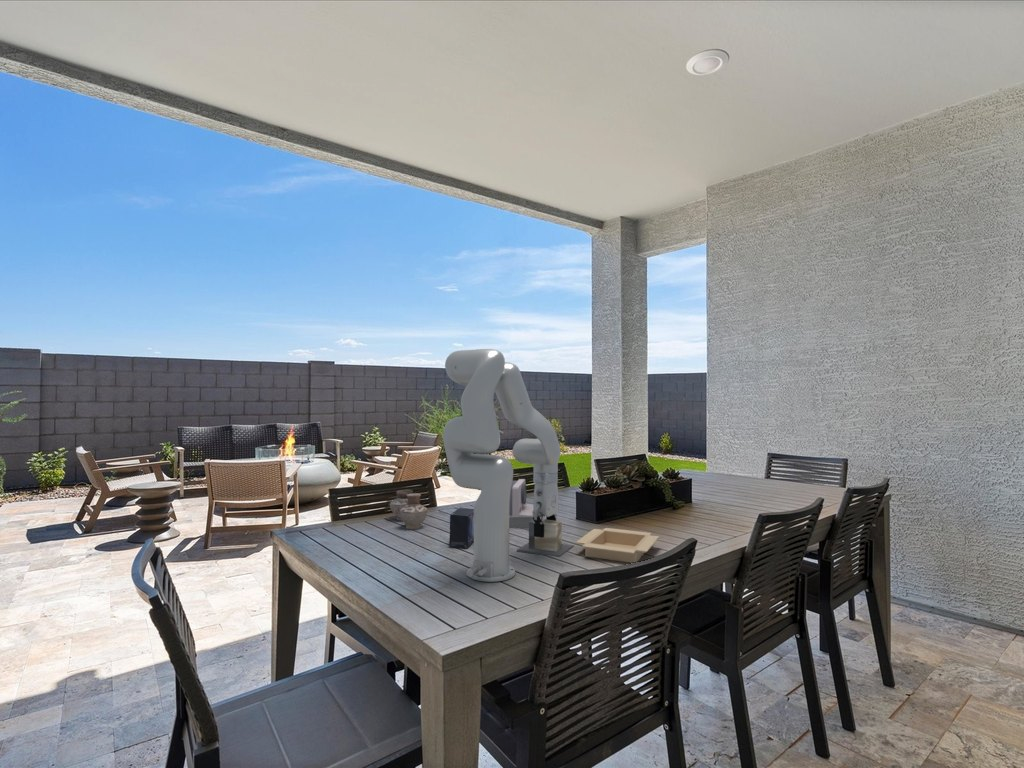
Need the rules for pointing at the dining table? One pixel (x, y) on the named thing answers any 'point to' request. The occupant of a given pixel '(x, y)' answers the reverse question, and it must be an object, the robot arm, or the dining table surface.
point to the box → (547, 536)
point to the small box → (461, 528)
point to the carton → (617, 544)
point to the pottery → (409, 509)
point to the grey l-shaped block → (519, 506)
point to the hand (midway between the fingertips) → (545, 533)
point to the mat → (545, 552)
